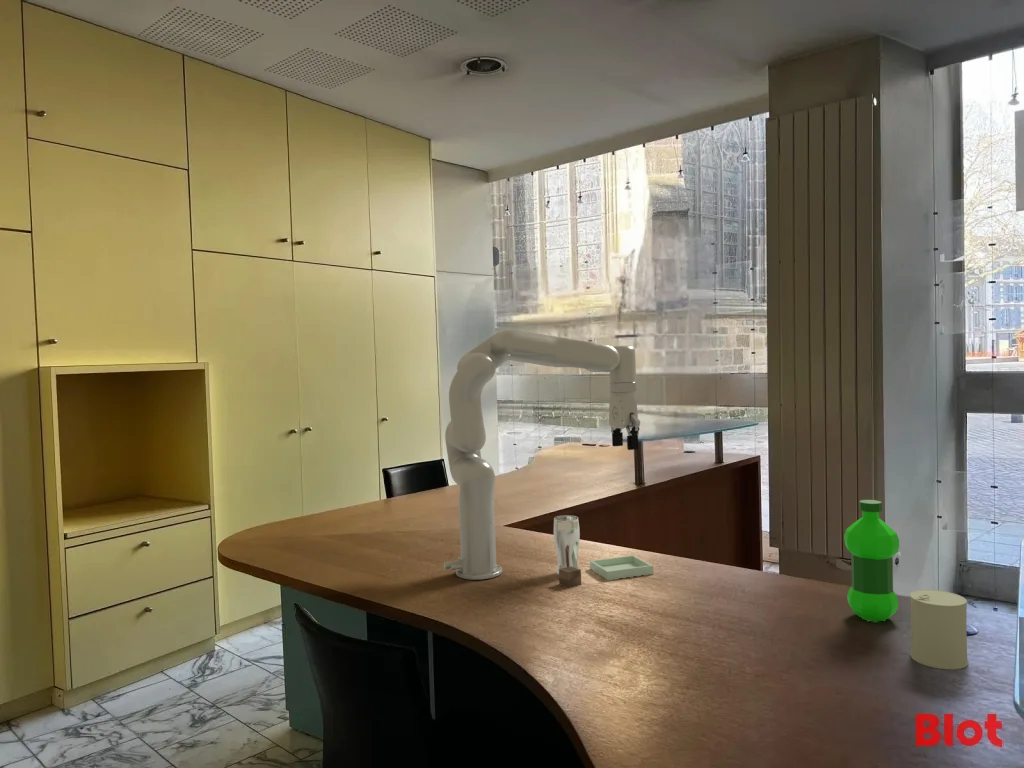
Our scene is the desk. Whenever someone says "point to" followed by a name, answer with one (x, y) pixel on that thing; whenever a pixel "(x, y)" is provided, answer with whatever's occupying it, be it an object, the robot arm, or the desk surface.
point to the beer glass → (566, 540)
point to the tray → (621, 567)
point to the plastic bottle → (872, 564)
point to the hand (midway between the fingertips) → (625, 447)
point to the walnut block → (570, 576)
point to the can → (938, 629)
